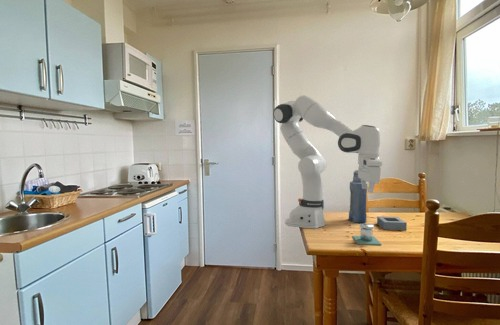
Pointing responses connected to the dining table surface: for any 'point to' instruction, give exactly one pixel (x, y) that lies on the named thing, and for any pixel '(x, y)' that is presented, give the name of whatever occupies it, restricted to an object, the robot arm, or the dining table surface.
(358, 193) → the bottle
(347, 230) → the dining table surface
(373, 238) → the mat
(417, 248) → the dining table surface
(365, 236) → the end cover
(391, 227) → the housing
